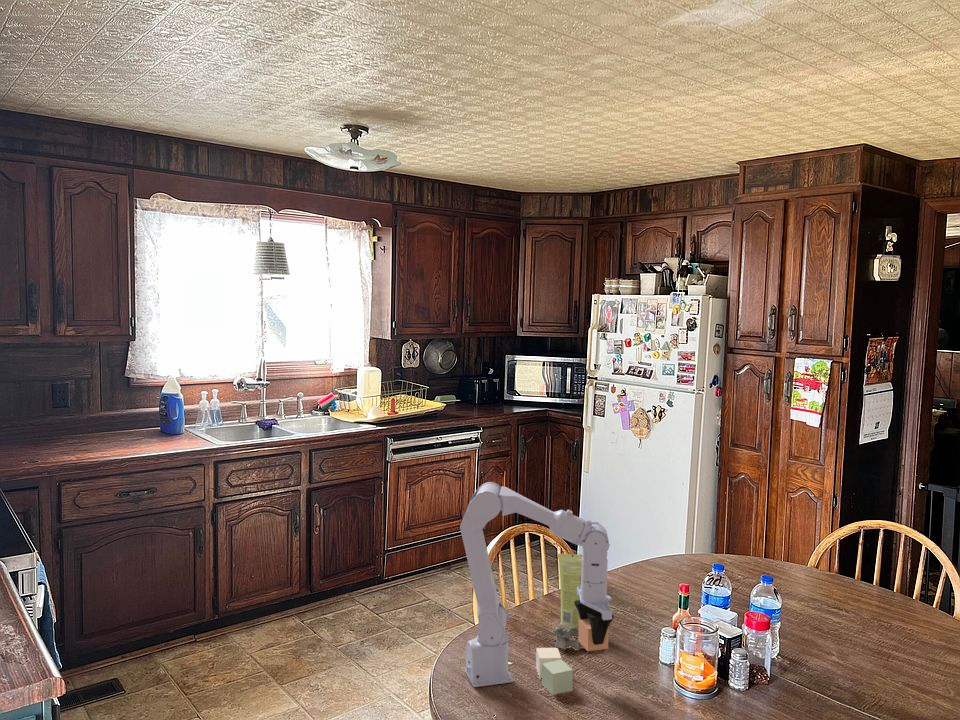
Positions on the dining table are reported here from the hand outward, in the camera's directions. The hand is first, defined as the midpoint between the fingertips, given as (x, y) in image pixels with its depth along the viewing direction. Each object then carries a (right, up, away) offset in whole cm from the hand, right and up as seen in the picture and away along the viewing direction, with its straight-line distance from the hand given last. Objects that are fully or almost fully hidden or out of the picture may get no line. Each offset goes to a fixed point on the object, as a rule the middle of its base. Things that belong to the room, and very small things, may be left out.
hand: (592, 638), depth 162 cm
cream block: (-10, -10, +5) cm, 15 cm away
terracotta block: (0, -2, 0) cm, 2 cm away
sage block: (-8, -11, -2) cm, 14 cm away
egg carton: (-1, -10, +20) cm, 22 cm away
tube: (-1, -9, +30) cm, 31 cm away
